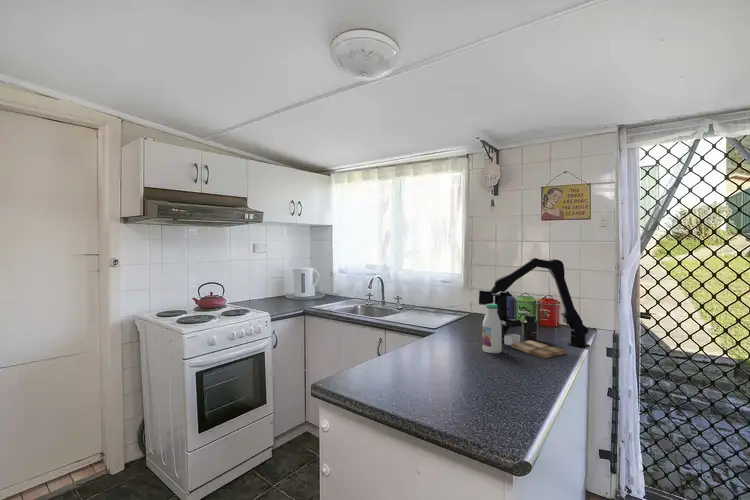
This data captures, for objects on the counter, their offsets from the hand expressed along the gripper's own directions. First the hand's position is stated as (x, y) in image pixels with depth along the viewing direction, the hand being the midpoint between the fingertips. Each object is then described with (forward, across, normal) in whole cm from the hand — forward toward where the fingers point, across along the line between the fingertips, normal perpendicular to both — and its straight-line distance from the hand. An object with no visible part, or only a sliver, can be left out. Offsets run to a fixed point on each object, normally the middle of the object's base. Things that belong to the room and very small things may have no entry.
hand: (501, 338), depth 168 cm
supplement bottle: (+1, +6, +12) cm, 14 cm away
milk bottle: (+1, +10, -17) cm, 20 cm away
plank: (+1, +16, 0) cm, 16 cm away
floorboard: (+1, +24, 0) cm, 25 cm away
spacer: (+1, +6, 0) cm, 7 cm away
